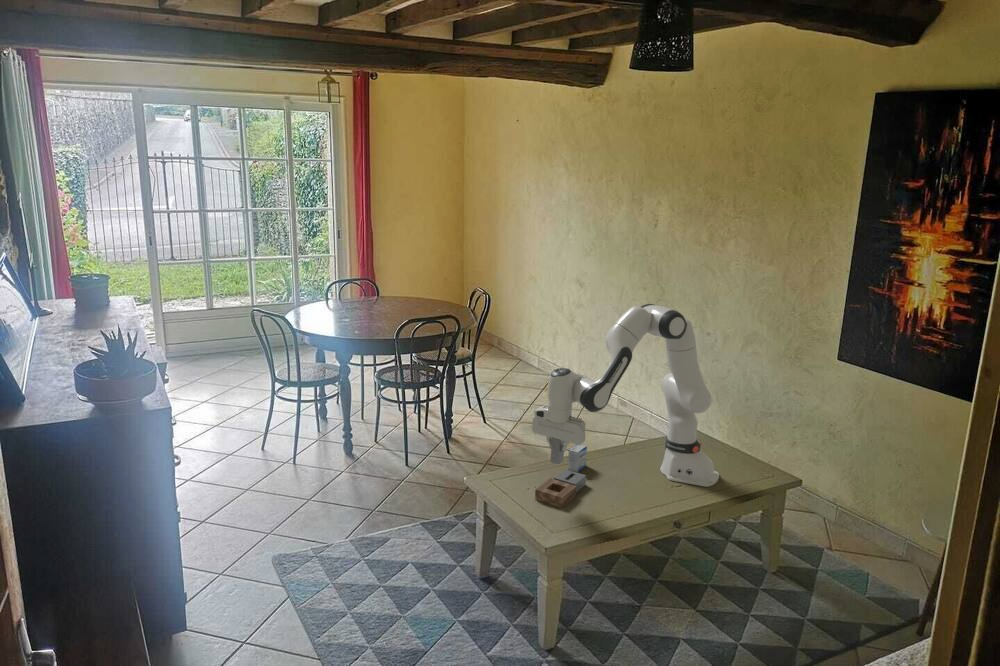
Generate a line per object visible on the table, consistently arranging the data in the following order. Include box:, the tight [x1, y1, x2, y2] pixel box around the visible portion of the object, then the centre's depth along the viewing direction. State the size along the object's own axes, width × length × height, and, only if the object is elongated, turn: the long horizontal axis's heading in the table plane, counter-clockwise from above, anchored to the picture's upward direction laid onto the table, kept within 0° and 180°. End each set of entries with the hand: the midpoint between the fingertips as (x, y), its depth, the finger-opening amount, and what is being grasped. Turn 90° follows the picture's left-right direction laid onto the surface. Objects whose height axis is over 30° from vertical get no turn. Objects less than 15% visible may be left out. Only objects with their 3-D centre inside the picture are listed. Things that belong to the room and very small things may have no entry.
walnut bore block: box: [534, 478, 577, 509], centre depth 261 cm, size 11×11×4 cm
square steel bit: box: [550, 437, 565, 465], centre depth 256 cm, size 3×3×10 cm
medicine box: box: [567, 444, 588, 473], centre depth 285 cm, size 8×4×9 cm, turn 148°
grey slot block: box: [553, 468, 587, 494], centre depth 270 cm, size 9×9×4 cm
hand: (557, 449), depth 256 cm, fingers closed on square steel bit, 3 cm apart
